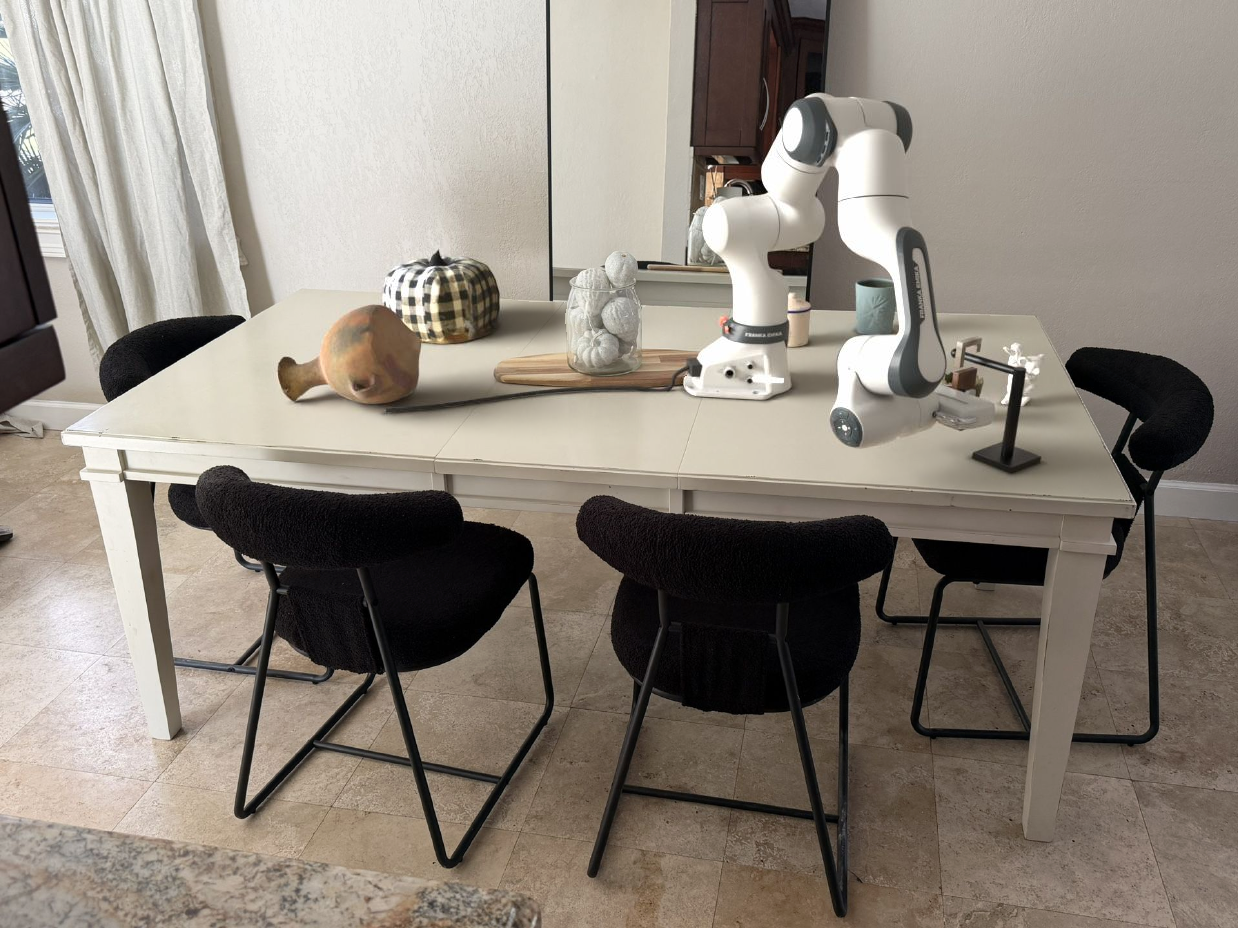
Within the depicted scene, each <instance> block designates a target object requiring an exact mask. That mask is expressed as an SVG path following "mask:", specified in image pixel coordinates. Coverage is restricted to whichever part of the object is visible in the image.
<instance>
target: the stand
mask: <svg viewBox="0 0 1238 928" xmlns="http://www.w3.org/2000/svg"><path fill="white" fill-rule="evenodd" d="M956 348H957V347H955V348H953V349H951V352H950V356H951V358H953V359H955V356H956ZM964 361H966V362H968V363H972V364H976V365H979V366H981V367H985V368H989V369H991V370H995V371H998V372H1002V373H1004V374H1007V375H1010V374H1011V375H1013V377H1012V384H1011V390H1010V397H1009V403H1008V404H1007V411H1006V418H1005V424H1004V430H1003V437H1002V441H1000V442H997V443H995V444H992V445H989V446H987V447H984V448H980V449H978V450H974V451H973V452H972V456H971V459H972V460H975V461H978V462H980V463H982V464H985V465H988V466H990V467H992V468H995V469H998V470H1000V471H1002V472H1004V473H1008V474H1011V475H1013V474H1014V473H1017V472H1020V471H1022V470H1025V469H1027V468H1030V467H1032V466H1035V465H1038V464H1040V463H1041V460H1042V456H1041V455H1038V454H1037V453H1034V452H1031V451H1028V450H1025V449H1023V448H1020V447H1018V446H1015V445H1016V439H1017V433H1018V427H1019V420H1020V415H1021V408H1022V406H1021V402H1022V396H1024V395H1023V389H1024V383H1025V377H1026V370H1027V369H1026V368H1023V367H1014V366H1011V365H1009V364H1007V363H1003V362H1001V361H997V360H993V359H990V358H987V357H984V356H980V355H977V354H974V353H970V352H968V351H965V358H964Z"/></svg>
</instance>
